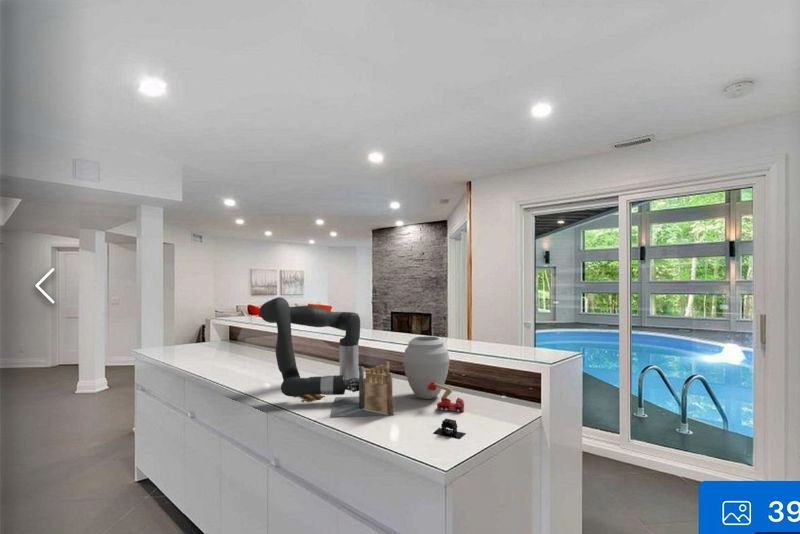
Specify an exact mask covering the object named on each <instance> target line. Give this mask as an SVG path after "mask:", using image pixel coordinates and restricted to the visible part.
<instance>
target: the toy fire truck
mask: <svg viewBox="0 0 800 534" xmlns="http://www.w3.org/2000/svg"><path fill="white" fill-rule="evenodd" d="M437 387H438V388H440V389H441V390H444V391H445V392H444V393H443V395H442V396H441V398H440V401H438V402H437V403H436V409H437V410H440V411H446V412H448V411H453V412H457V413H460V412H461V413H463V412H465V401H464V399H462V398H460V397H457V398H456V400H455V402H452V401H451V399H450V398H448V397H449V396H450V395H451V393H452V392H453V390H452V388H450V387H447V386H445V385H444V386H442V385H439V384H437V382H434V383H430V384H429V385H428V390H433V391H435V389H436V388H437Z"/></svg>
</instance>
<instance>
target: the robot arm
mask: <svg viewBox="0 0 800 534" xmlns="http://www.w3.org/2000/svg"><path fill="white" fill-rule="evenodd" d="M258 312H259V316H260V318H261V319H262V320H263V321H264V322H266V323H270V324H276V328H277V337H276V346H275V358H276V363H277V367H278V371H279V372H280V374H281V377H282V380H283V381H282V383H281V385H280V391H281V393H282V394H283V395H285V396H287V397H293V396H299V397H301V396H300V395H321V396H340V395H341V396H342V395H346V394H345V393H346V391H350V392H352V393H355V392H359V340H360V337H361V317H360V315H359V314H358V313H356V312H352V311H351V312H349V311H339V312H338V311H330V310H328V309H326V308H323V307H319V306H315V305H299V306H298V305H297V306H290V304H289V302H288V301H287V299H285V298H284V297H279V296H278V297H275V298H272V299H270V300H267V301H266V302H264V303H263V304H262V305H260V308H259V311H258ZM292 324H293V325H299V326H307V327H313V328H327V327H329V328H333V329H338V330H340V331H345V336H344V337H341V338H339V375H323V376H310V377H301V376H300V371H299V370H298V366H297V360H296V356H295V352H294V347H293V339H292Z"/></svg>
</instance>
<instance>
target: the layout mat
mask: <svg viewBox="0 0 800 534" xmlns="http://www.w3.org/2000/svg"><path fill="white" fill-rule="evenodd" d="M394 411H395V410H394V409H393V414H392V415H391V416H395V412H394ZM388 415H389V414H387V413H385V412H380V411H375V410H370V409H365V406H364V408H363V409H360V408H359V395H358V396H336V397H335V399H334V402H333V407H332V409H331V414H330V417H331V418H348V417H347V416H358V417H381V416H385V417H386V416H388ZM345 416H346V417H345Z"/></svg>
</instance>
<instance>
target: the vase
mask: <svg viewBox="0 0 800 534" xmlns="http://www.w3.org/2000/svg"><path fill="white" fill-rule="evenodd" d="M402 360H403V366H404V367H403V368H404V374H405V377H406V380H407V382H408V385H409V387H410V388H411V391H412V392H413V394H414V395H415V396H416V397H418V398H419V399H421V400H432V399H435V398H437V396H439V394H440V393H441V391H442V389H440V388H438V387H437V388H436V389H435V391H433V390H428V385H429V384H430V383H434V382H437V384H439V385H442V386H445V383H446V380H447V376H448V373H449V367H450V356H449V351H448V349H447V348H446V347H445V345H444V341H443V340H442V339H440V338H439V337H436V336H415V337H412V338H411V340H409V341H408V345H407V347H406V348H405V349H404V354H403V358H402Z"/></svg>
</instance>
